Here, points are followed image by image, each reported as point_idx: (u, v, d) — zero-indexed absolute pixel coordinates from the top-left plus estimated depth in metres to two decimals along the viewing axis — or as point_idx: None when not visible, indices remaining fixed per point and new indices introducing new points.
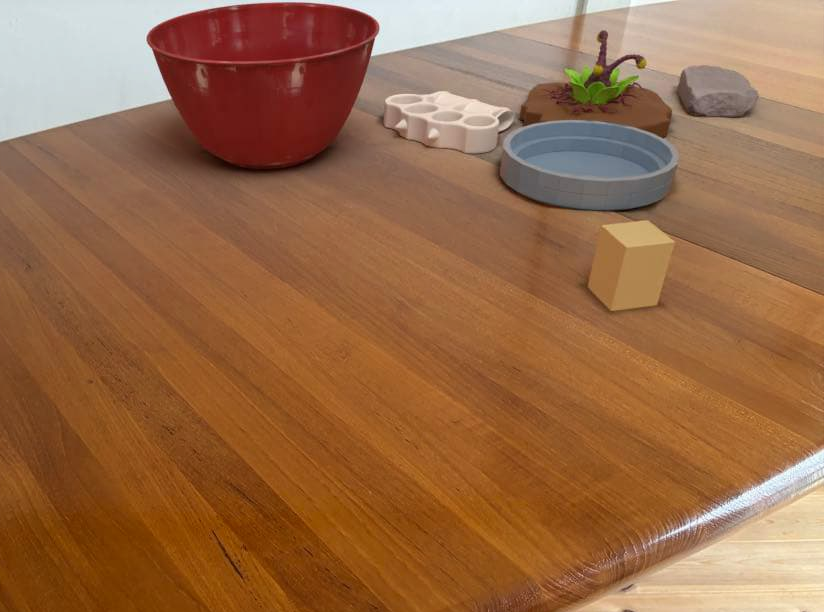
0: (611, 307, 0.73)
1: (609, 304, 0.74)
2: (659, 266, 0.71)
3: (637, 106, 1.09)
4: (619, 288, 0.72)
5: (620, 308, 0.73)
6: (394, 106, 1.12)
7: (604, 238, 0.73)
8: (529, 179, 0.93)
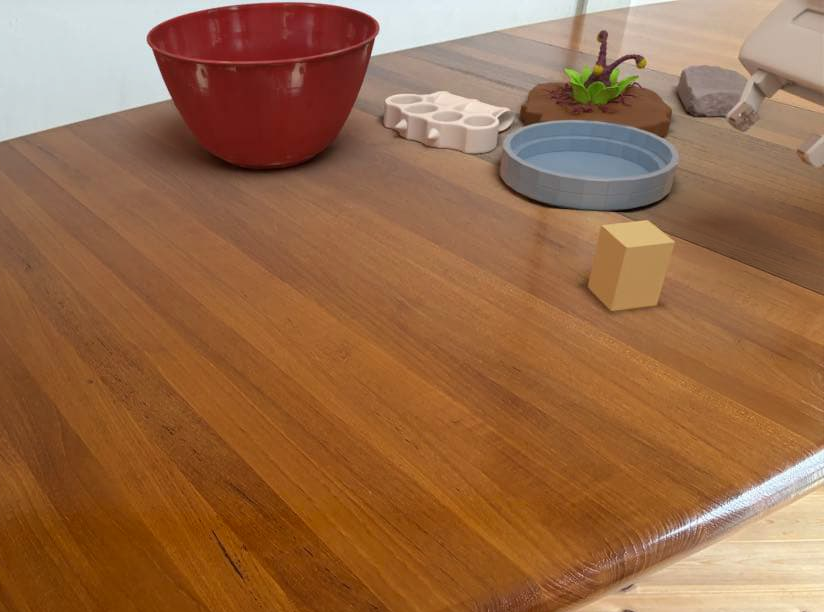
0: (611, 307, 0.73)
1: (609, 304, 0.74)
2: (659, 266, 0.71)
3: (637, 106, 1.09)
4: (619, 288, 0.72)
5: (620, 308, 0.73)
6: (394, 106, 1.12)
7: (604, 238, 0.73)
8: (529, 179, 0.93)
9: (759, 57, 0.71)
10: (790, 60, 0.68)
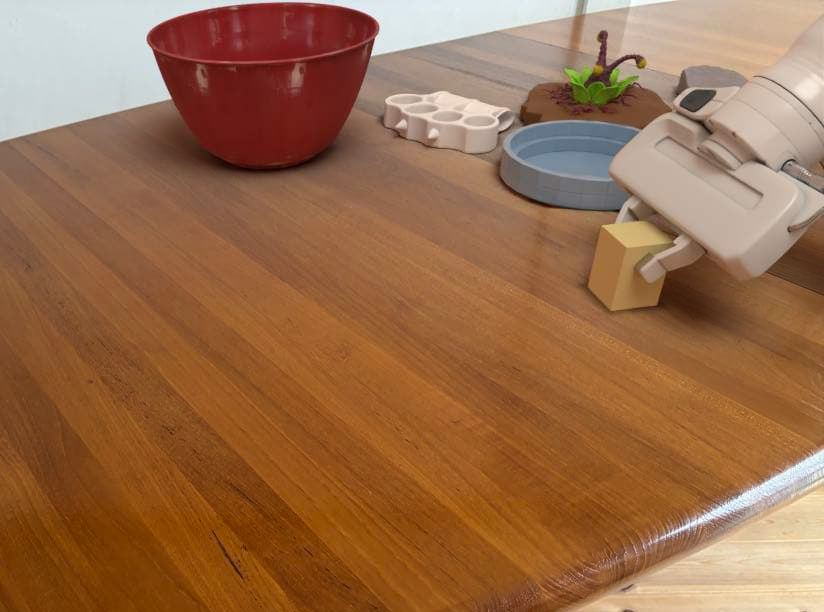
0: (611, 307, 0.73)
1: (609, 304, 0.74)
2: None
3: (637, 106, 1.09)
4: (619, 288, 0.72)
5: (620, 308, 0.73)
6: (394, 106, 1.12)
7: (604, 238, 0.73)
8: (529, 179, 0.93)
9: (624, 176, 0.76)
10: (648, 185, 0.73)
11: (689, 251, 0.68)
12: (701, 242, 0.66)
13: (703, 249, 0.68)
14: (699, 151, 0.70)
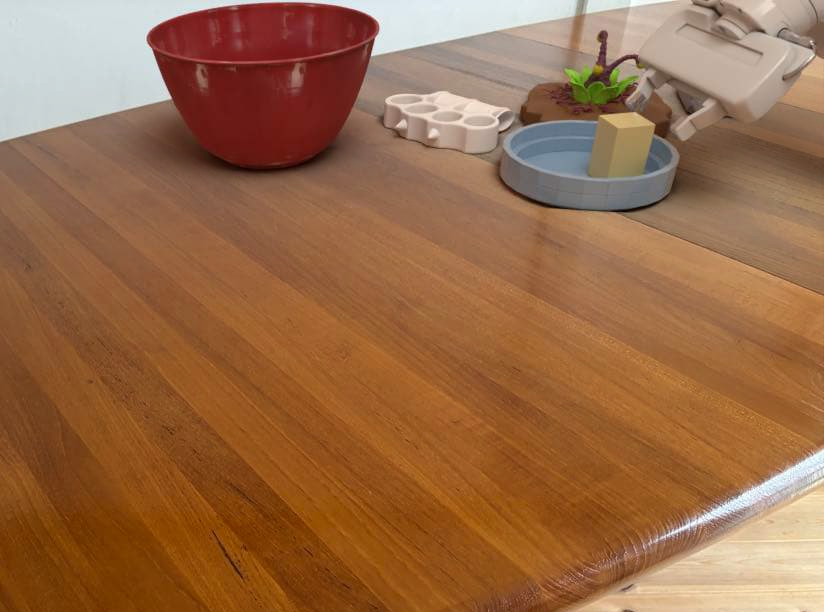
0: None
1: (605, 177, 0.95)
2: (643, 145, 0.93)
3: None
4: (612, 163, 0.93)
5: None
6: (394, 106, 1.12)
7: (601, 125, 0.94)
8: (529, 179, 0.93)
9: (651, 57, 0.94)
10: (671, 61, 0.91)
11: (715, 111, 0.85)
12: (715, 95, 0.84)
13: (726, 109, 0.85)
14: (712, 30, 0.89)
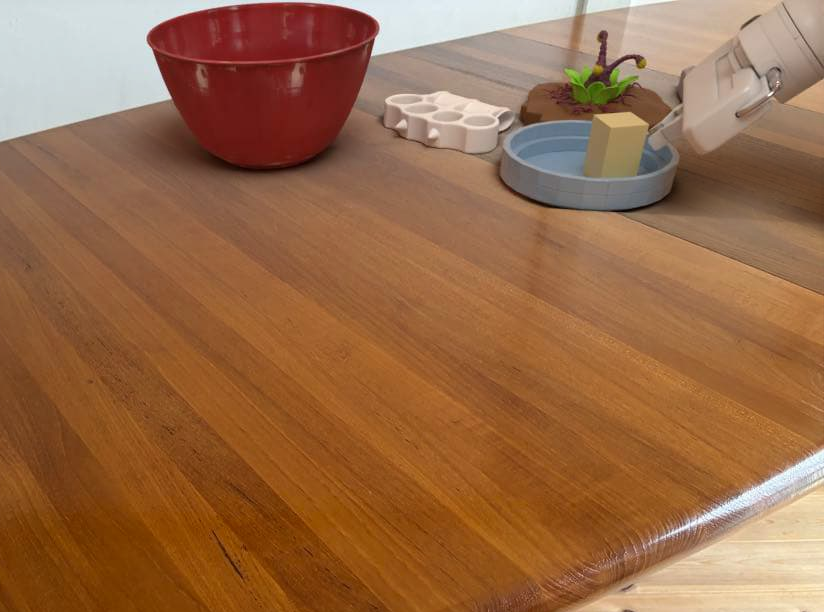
0: None
1: (598, 176, 0.95)
2: (637, 144, 0.93)
3: (637, 106, 1.09)
4: (605, 162, 0.94)
5: None
6: (394, 106, 1.12)
7: (595, 124, 0.94)
8: (529, 179, 0.93)
9: (686, 81, 0.94)
10: (691, 86, 0.92)
11: (682, 125, 0.89)
12: (682, 121, 0.85)
13: None
14: None
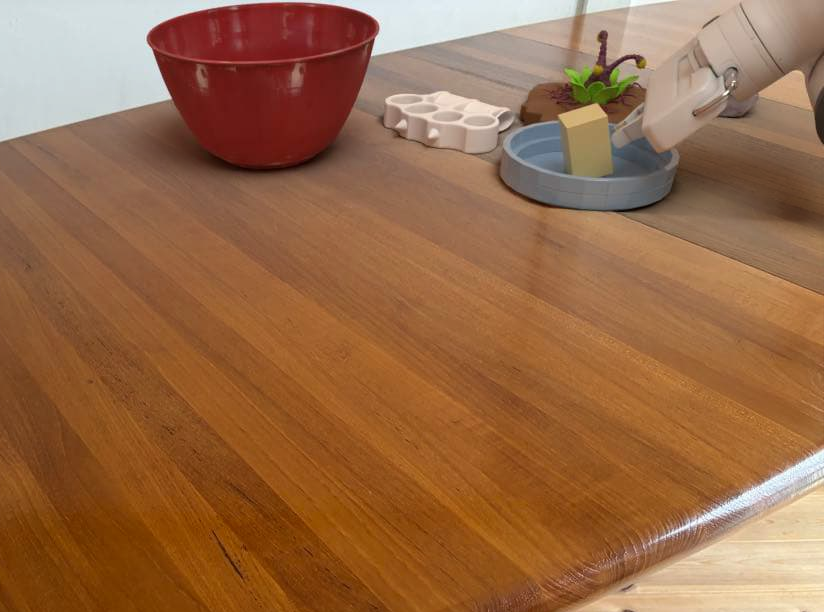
0: None
1: (571, 174, 0.96)
2: (601, 137, 0.93)
3: (637, 106, 1.09)
4: (573, 160, 0.94)
5: (580, 175, 0.96)
6: (394, 106, 1.12)
7: (560, 124, 0.96)
8: (529, 179, 0.93)
9: (650, 80, 0.96)
10: (653, 85, 0.93)
11: None
12: (642, 119, 0.86)
13: None
14: None
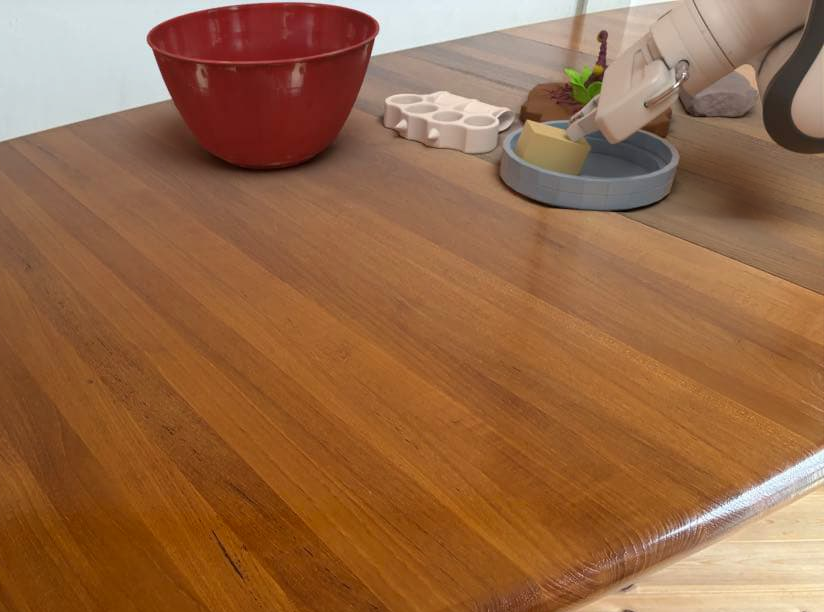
0: None
1: None
2: (549, 144, 0.94)
3: None
4: None
5: None
6: (394, 106, 1.12)
7: None
8: (529, 179, 0.93)
9: (606, 73, 0.96)
10: (609, 78, 0.93)
11: None
12: (596, 111, 0.87)
13: None
14: None
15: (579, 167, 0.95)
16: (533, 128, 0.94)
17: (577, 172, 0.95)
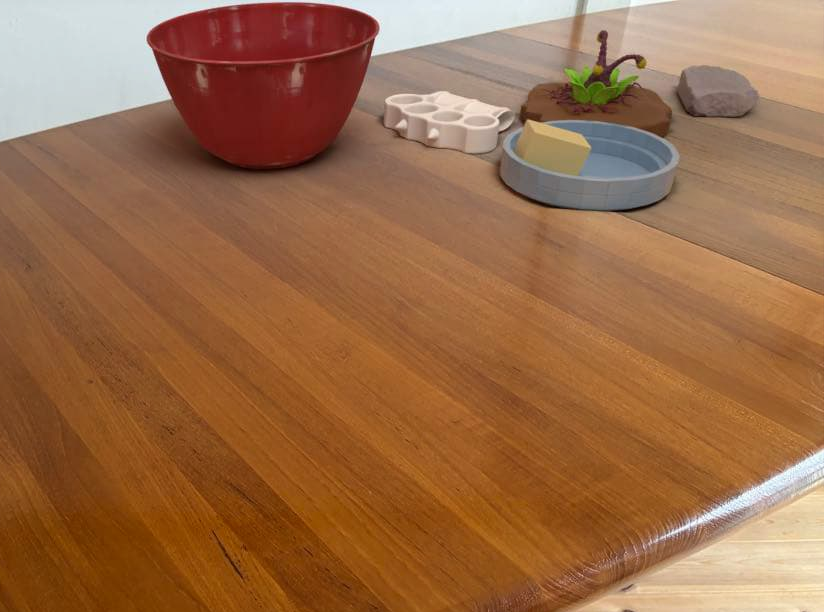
0: None
1: None
2: (550, 144, 0.94)
3: (637, 106, 1.09)
4: None
5: None
6: (394, 106, 1.12)
7: None
8: (529, 179, 0.93)
9: None
10: None
11: None
12: None
13: None
14: None
15: (579, 167, 0.95)
16: (533, 128, 0.94)
17: (577, 172, 0.95)
